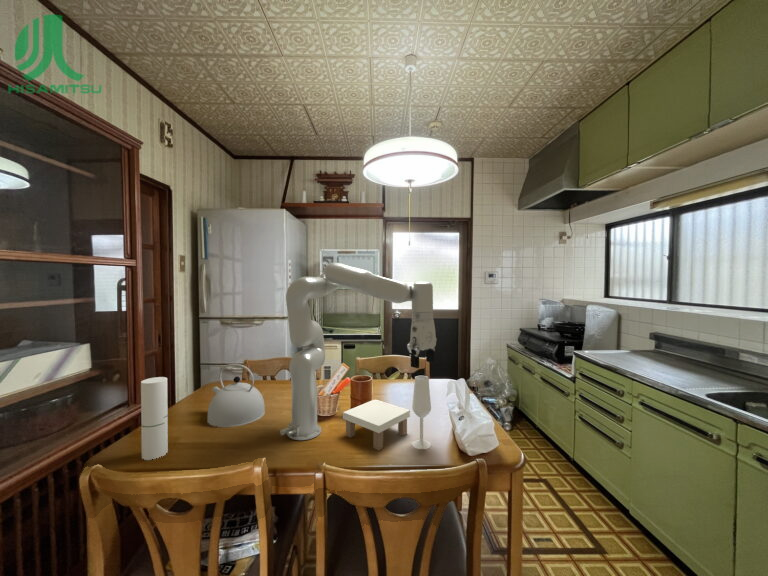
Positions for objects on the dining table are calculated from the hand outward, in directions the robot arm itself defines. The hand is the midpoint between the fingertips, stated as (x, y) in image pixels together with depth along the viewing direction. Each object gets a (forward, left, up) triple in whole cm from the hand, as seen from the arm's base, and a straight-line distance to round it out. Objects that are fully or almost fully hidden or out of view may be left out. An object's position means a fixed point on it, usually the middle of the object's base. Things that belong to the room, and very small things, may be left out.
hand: (422, 364), depth 115 cm
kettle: (-32, +76, -29) cm, 88 cm away
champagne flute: (0, 0, -29) cm, 29 cm away
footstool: (-5, +17, -29) cm, 34 cm away
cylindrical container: (-64, +64, -29) cm, 95 cm away
